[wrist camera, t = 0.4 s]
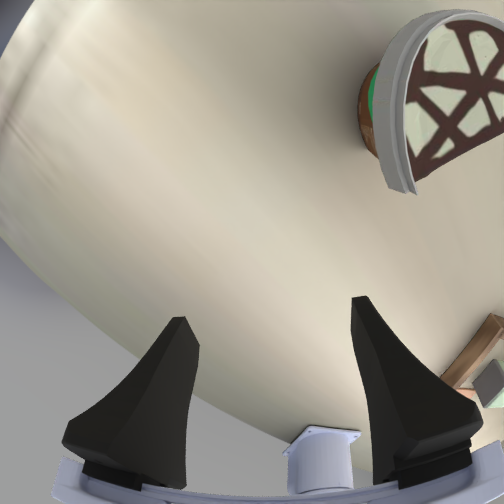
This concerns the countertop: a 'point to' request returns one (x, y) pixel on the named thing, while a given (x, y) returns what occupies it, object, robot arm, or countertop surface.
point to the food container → (434, 94)
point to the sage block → (491, 385)
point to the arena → (474, 354)
